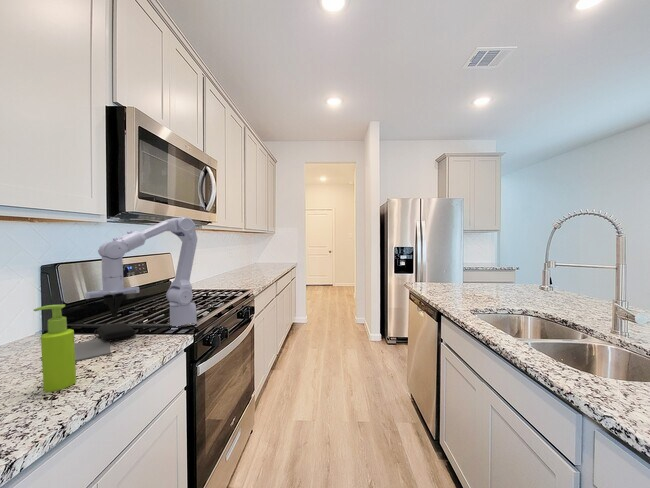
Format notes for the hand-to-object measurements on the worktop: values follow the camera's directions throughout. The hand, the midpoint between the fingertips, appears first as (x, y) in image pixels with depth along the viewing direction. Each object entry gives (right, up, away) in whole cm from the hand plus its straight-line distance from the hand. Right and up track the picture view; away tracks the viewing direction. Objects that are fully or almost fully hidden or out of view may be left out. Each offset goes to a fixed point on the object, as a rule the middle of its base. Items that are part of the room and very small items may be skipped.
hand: (114, 316), depth 96 cm
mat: (-7, -10, -5) cm, 13 cm away
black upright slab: (0, -8, +2) cm, 8 cm away
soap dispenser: (+6, -11, -26) cm, 29 cm away
